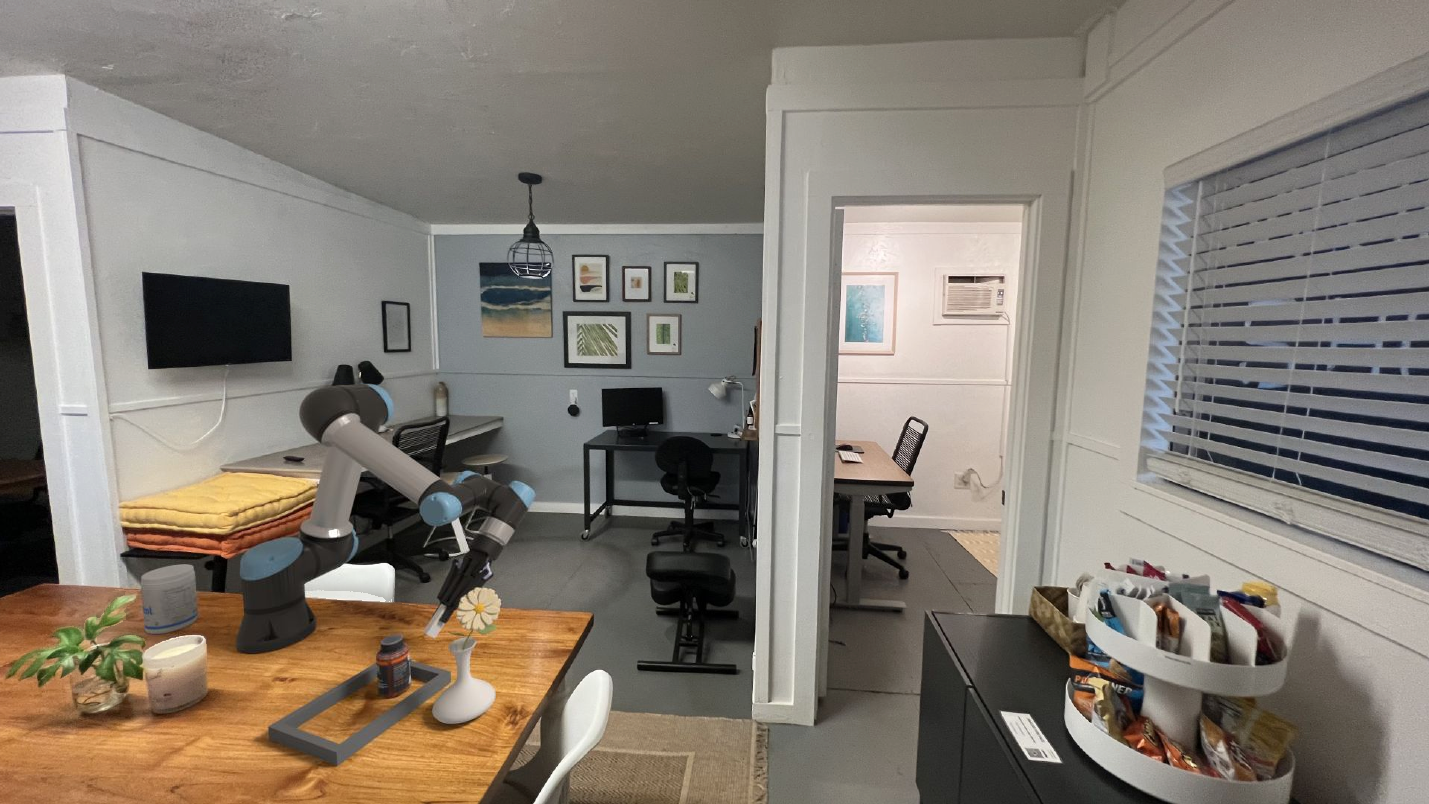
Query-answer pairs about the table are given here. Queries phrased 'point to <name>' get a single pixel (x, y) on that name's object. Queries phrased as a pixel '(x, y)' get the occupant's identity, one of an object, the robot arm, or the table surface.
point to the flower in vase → (468, 692)
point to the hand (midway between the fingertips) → (428, 635)
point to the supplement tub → (169, 598)
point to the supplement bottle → (393, 667)
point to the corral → (338, 753)
